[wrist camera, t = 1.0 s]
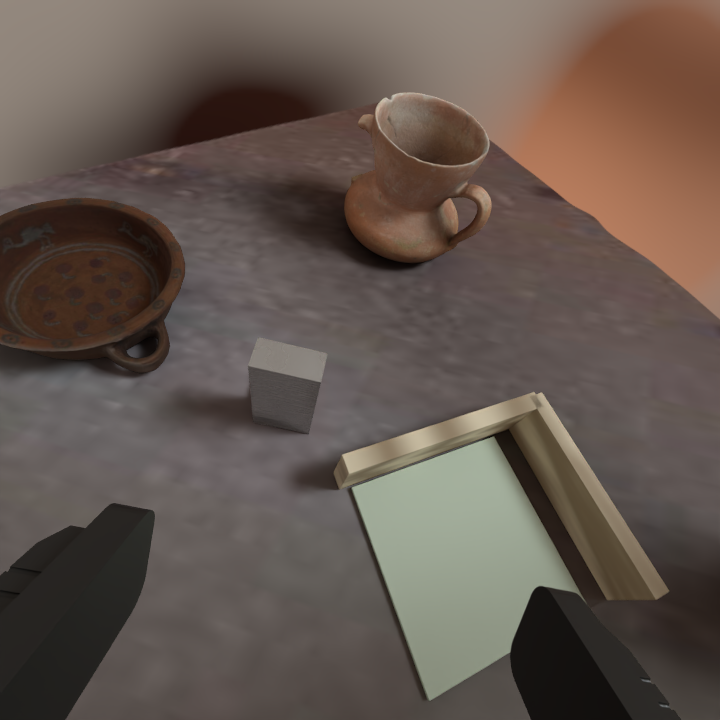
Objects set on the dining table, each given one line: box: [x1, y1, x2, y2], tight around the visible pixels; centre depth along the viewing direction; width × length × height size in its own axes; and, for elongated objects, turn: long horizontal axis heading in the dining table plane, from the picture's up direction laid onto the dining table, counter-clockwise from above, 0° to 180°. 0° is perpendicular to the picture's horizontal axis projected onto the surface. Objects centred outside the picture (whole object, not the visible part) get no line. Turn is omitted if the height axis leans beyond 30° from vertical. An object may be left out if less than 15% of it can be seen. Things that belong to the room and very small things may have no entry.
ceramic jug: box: [344, 92, 491, 263], centre depth 46 cm, size 18×14×14 cm
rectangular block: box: [248, 337, 328, 434], centre depth 33 cm, size 6×5×10 cm
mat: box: [351, 437, 586, 701], centre depth 33 cm, size 15×15×1 cm
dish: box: [0, 198, 185, 373], centre depth 36 cm, size 18×22×5 cm
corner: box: [333, 392, 669, 600], centre depth 32 cm, size 20×17×5 cm
